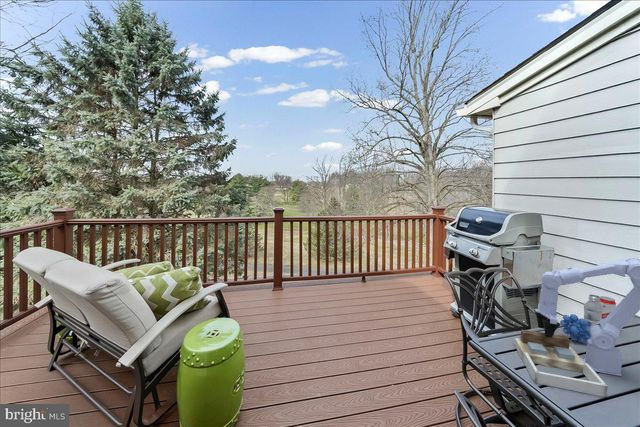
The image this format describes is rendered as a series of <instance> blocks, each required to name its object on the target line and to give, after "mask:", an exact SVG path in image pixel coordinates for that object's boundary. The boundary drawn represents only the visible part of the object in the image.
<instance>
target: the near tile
mask: <svg viewBox="0 0 640 427" xmlns="http://www.w3.org/2000/svg"><path fill="white" fill-rule="evenodd" d="M554 352H555V354H556V355H557V356H558V358H561V359H567V360H573V361H575V355H574V354H573V353H572V352H571V350H570V349H567V348H561V347H555V346H554Z"/></svg>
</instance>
